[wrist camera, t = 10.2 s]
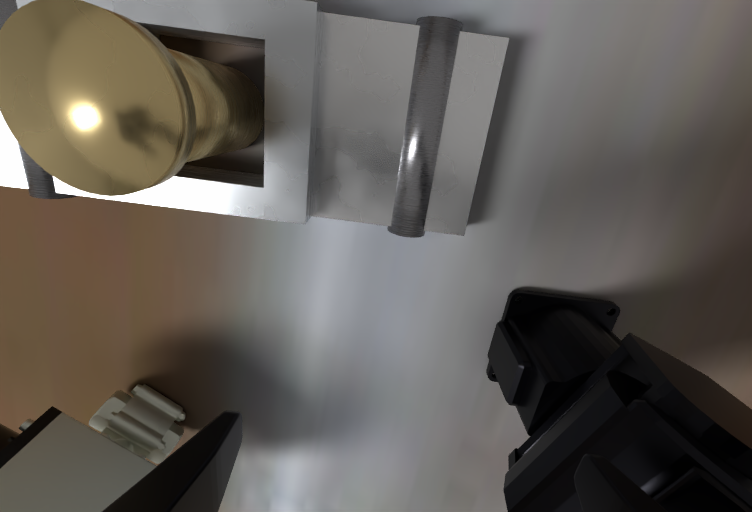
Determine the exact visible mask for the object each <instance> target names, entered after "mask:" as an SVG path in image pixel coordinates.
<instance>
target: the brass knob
mask: <svg viewBox="0 0 752 512" xmlns="http://www.w3.org/2000/svg"><path fill="white" fill-rule="evenodd" d="M0 111H1V113H2V116H3V118H4V120H5V122H6V124H7V126H8V128H9V129H10V131H11V133H12V134H13V136H14V137H15V139H16V140H17V142H18V143H19V144H20V146H21V147H22V148H23V149H24V150H25V152H26V153H27V154H28V155H29V156H30V157H31V158H32V159H33V160H34V161H35V162H36V163H37V164H38V165H39V166H40V167H42V168H43V169H44V170H45V171H46V172H48V173H49V174H51V175H52V176H53V177H55V178H56V179H58V180H60V181H61V182H63V183H65V184H67V185H69V186H71V187H73V188H76V189H78V190H81V191H84V192H87V193H90V194H95V195H101V196H123V195H128V194H133V193H136V192H139V191H142V190H145V189H149V188H152V187H155V186H157V185H160V184H162V183H164V182H166V181H168V180H169V179H171V178H172V177H173V176H174V175H176V174H177V173H178V172H179V170H180V169H181V168H182V167H183V166H184V164H185V162H190V161H194V160H198V159H202V158H206V157H211V156H215V155H219V154H223V153H227V152H231V151H236V150H240V149H243V148H246V147H247V146H249V145H250V144H252V143H253V142H254V141H255V140H256V139H257V138H258V136H259V135H260V133H261V131H262V128H263V124H264V104H263V101H262V98H261V95H260V93H259V91H258V89H257V88H256V86H255V85H254V83H253V82H252V81H251V80H250V79H249V78H248V77H247V76H246V75H245V74H243V73H242V72H240V71H238V70H236V69H234V68H231V67H228V66H225V65H222V64H218V63H215V62H212V61H208V60H205V59H202V58H198V57H195V56H191V55H188V54H185V53H181V52H178V51H175V50H171V49H168V48H166V47H165V46H164V45H163V44H162V43H161V42H160V41H159V40H158V39H157V38H156V37H155V36H154V35H153V34H152V33H150V32H149V31H148V30H147V29H145V28H144V27H143V26H141V25H140V24H138V23H137V22H135V21H133V20H131V19H129V18H127V17H125V16H123V15H120V14H118V13H115V12H112V11H110V10H107V9H104V8H102V7H99V6H96V5H93V4H91V3H88V2H85V1H82V0H35V1H32V2H30V3H28V4H26V5H24V6H22V7H21V8H19V9H18V10H17V11H15V12H14V13H13V14H12V15H11V16H10V17H9V18H8V19H7V20H6V22H5V23H4V25H3V26H2V28H1V30H0Z"/></svg>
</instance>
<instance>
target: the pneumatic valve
mask: <svg viewBox="0 0 752 512" xmlns="http://www.w3.org/2000/svg"><path fill="white" fill-rule="evenodd" d="M131 393H133V395H134V396H133V397H131V396H130V395H128V394H126V393H125V392H123V391H121V390H120V391H116V392H115V393H114V394H113V395H112V396H111V397H110V398H109V399H108V400H107V401H106V402H105V403H104V404H103V405H102V406H101V408H100V409H99V410H98V411H97V412H96V413H95V414H94V416H93V417H92V418H91V419H90V420H89V425H90V426H92V427H93V428H95V429H97V430H99V431H100V432H102V433H101V434H100V433H98V432H97V431H95V430H93V429H91V428H90V427H88V426H86V425H84V424H83V423H81V422H79V421H77V420H75V419H74V418H72V417H70V416H68V415H67V414H65V413H63V412H61V411H60V410H58V409H56V408H54V407H53V406H52V407H51V408H50V409H48V410H47V411H46V412H45V413H44V414H43V415H42V416H40V417H39V418H38V419H37V420H36V421H33V420H31V419H28V420H26V421H25V422H24V423H23V424H22V425H21V426H20V427H19V429H20V430H22V431H23V432H22V433H21V434H19V433H17V432H15V431H13V430H11V429H9V428H7V427H6V426H4V425H2V424H0V512H102V511H103V510H104V509H105V508H107V507H108V506H109V505H110V504H112V503H113V502H114V501H115V500H116V499H118V498H119V497H120V496H121V495H122V494H124V493H125V492H126V491H127V490H129V489H130V488H131V487H132V486H133V485H135V484H136V483H137V482H138V481H140V480H141V479H142V478H143V477H144V476H146V475H147V474H148V473H149V472H151V471H152V470H153V469H154V468H155V467H157V466H156V465H154V464H153V463H151V462H149V461H147V460H146V459H145V458H148V459H149V460H151V461H153V462H155V463H156V464H158V463H161V462H162V461H164V459H165V458H166V457H167V456H168V455H169V454H170V452H171V451H172V450H173V448H174V447H175V446H176V444H177V443H178V441H179V440H180V438H181V437H182V435H183V433H184V429H183V428H182V427H181V426H179V425H177V424H176V423H174V421H175V420H177V421H178V422H180V421H181V420H182V421H183V420H184V419H185V417H186V416H185V414H186V413H184V412H183V411H182V410H183V408H182V407H181V406H179V405H177V404H176V403H174V402H173V401H171V400H169V399H168V398H166V397H165V396H163V395H161V394H160V393H158V392H157V391H155V390H153V389H152V388H150V387H149V386H147V385H145V384H144V385H143V386H142V385H139V384H138V385H137V386H136V387H135V388H134V389H133V390H132V391H131ZM110 437H111V438H110Z"/></svg>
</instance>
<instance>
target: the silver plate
mask: <svg viewBox="0 0 752 512" xmlns="http://www.w3.org/2000/svg"><path fill="white" fill-rule="evenodd" d="M32 1H35V0H0V30H1V28H2V26H3V25H4V23H5V22H6V20H7V19H8V18H9V17H10V16H11V15H12V14H13V13H14V12H15V11H17V10H18V9H19V8H21V7H22V6H24V5H26V4H28V3H30V2H32ZM82 1H85V2H88V3H91V4H93V5H96V6H99V7H102V8H104V9H107V10H110V11H112V12H115V13H118V14H120V15H123V16H125V17H127V18H129V19H131V20H133V21H135V22H137V23H138V24H140V25H141V26H143V27H144V28H145V29H147V30H148V31H149V32H150V33H152V34H153V35H154V36H155V37H156V38H157V39H158V40H159V41H160V36H159V34H160V35H167V36H174V37H182V38H189V39H196V40H204V41H211V42H218V43H226V44H233V45H240V46H248V47H255V48H262V49H265V111H264V175H260V174H252V173H245V172H237V171H229V170H222V169H214V168H206V167H199V166H191V165H184V166H183V167H182V168H181V169H180V170H179V172H178V173H177V174H176V175H174V176H173V177H172V178H171V179H169V180H168V181H166V182H164V183H162V184H160V185H157V186H155V187H152V188H149V189H145V190H142V191H139V192H136V193H133V194H128V195H123V196H101V195H95V194H90V193H87V192H84V191H81V190H78V189H76V188H73V187H71V186H69V185H67V184H65V183H63V182H61V181H60V180H58V179H56V178H55V177H53V176H52V175H51V174H49V173H48V172H46V171H45V170H44V169H43V168H42V167H40V166H39V165H38V164H37V163H36V162H35V161H34V160H33V159H32V158H31V157H30V156H29V155H28V154H27V153H26V152H25V150H24V149H23V148H22V147H21V146H20V144H19V143H18V142H17V140H16V139H15V137H14V136H13V134H12V133H11V131H10V129H9V128H8V126H7V124H6V122H5V120H4V118H3V116H2V113H1V111H0V185H2V186H10V187H17V188H25V189H28V190H29V194H30V196H32V197H35V198H43V199H62V198H71V197H77V196H87V197H95V198H103V199H111V200H119V201H126V202H134V203H142V204H150V205H157V206H165V207H173V208H181V209H189V210H196V211H204V212H212V213H220V214H228V215H235V216H243V217H251V218H259V219H266V220H274V221H282V222H290V223H298V224H306V223H307V222H308V220H309V219H310V218H311V216H314V217H322V218H330V219H337V220H345V221H353V222H361V223H368V224H376V225H384V226H388V228H387V229H388V231H389V232H391V233H393V234H396V235H399V236H404V237H422V236H424V233H425V231H431V232H438V233H446V234H454V235H462V236H464V234H465V230H466V226H467V221H468V217H469V212H470V208H471V204H472V199H473V195H474V190H475V186H476V182H477V177H478V173H479V169H480V164H481V160H482V155H483V151H484V147H485V142H486V138H487V133H488V129H489V125H490V120H491V116H492V112H493V107H494V103H495V98H496V94H497V90H498V85H499V81H500V77H501V72H502V68H503V63H504V59H505V55H506V50H507V46H508V41H509V38H506V37H498V36H491V35H484V34H477V33H469V32H462V27H463V24H462V23H461V22H459V21H457V20H454V19H450V18H444V17H434V16H428V17H421V18H418V19H417V24H416V25H412V24H404V23H397V22H390V21H383V20H376V19H368V18H361V17H354V16H347V15H340V14H332V13H325V12H323V11H322V9H321V7H320V6H319V4H318V3H317V2H313V1H306V0H82Z"/></svg>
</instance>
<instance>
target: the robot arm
mask: <svg viewBox="0 0 752 512" xmlns="http://www.w3.org/2000/svg"><path fill="white" fill-rule="evenodd" d="M517 297H521V299H520V300H518V301H515V299H516V298H517ZM610 308H612V309H611V311H609V312H607V311H608V310H609V309H610ZM619 313H620V308H619V307H618V306H617V305H616V304H615V303H613V302H611V301H604V300H596V299H588V298H580V297H572V296H564V295H556V294H548V293H540V292H533V291H525V290H514V291H512V292H511V293H510V294H509V296H508V299H507V303H506V306H505V310H504V313H503V316H502V320H501V321H499V322H498V323H497V325H496V328H495V331H494V335H493V338H492V342H491V345H490V349H489V352H488V358H489V363H488V367H487V370H486V373H487V376H488V378H489V379H490V380H491V381H494V382H498V383H499V385H500V388H501V390H502V392H503V395H504V397H505V400H506V401H507V403H508V404H509V405H513V406H516V408H517V410H518V413H519V415H520V417H521V420H522V422H523V424H524V426H525V429H526V431H527V433H528V435H529V436H531V437H530V438H529V439H528V440H527V441H526V442H525V443H524V444H523V445H522V446H521V447H520V448H519V449H517V448H516V449H514V450H513V451H512V452H511V453H510V454H509V456H508V457H509V471H508V472H507V473H506V476H505V483H504V495H505V500H506V505H507V510H508V512H752V409H750V408H749V407H748V406H746V405H745V404H744V403H742V402H741V401H740V400H738V399H737V398H736V397H734V396H733V395H732V394H731V393H729V392H728V391H727V390H725V389H724V388H723V387H721V386H720V385H719V384H717V383H716V382H715V381H713V380H712V379H711V378H709V377H708V376H706V375H705V374H703V373H701V372H699V371H698V370H696V369H694V368H692V367H691V366H689V365H687V364H685V363H683V362H682V361H680V360H678V359H676V358H674V357H673V356H671V355H669V354H667V353H665V352H664V351H662V350H660V349H658V348H656V347H655V346H653V345H651V344H649V343H648V342H646V341H644V340H642V339H640V338H639V337H637V336H635V335H633V334H631V333H629V334H628V335H627V336H626V337H625V338H624V339H623V340H622V341H621V340H620V339H619V338H618V337H617V336H616V335H615V334H613V333H612V332H611V331H612V329H613V327H614V324H615V322H616V320H617V318H618V315H619ZM493 373H495V374H493ZM241 442H242V414H241V413H240V412H236V411H224V412H223V413H221V414H220V415H219V416H218V417H216V418H215V419H214V420H213V421H212V422H210V423H209V424H208V425H207V426H205V427H204V428H203V429H202V430H201V431H199V432H198V433H197V434H196V435H195V436H193V437H192V438H191V439H190V440H188V441H187V442H186V443H185V444H184V445H182V446H181V447H180V448H179V449H177V450H176V451H175V452H174V453H173V454H171V455H170V456H169V457H168V458H166V459H165V460H164V461H163V462H162V463H160V464H159V465H158V466H157V467H155V468H154V469H153V470H152V471H151V472H149V473H148V474H147V475H146V476H144V477H143V478H142V479H141V480H140V481H138V482H137V483H136V484H135V485H133V486H132V487H131V488H130V489H129V490H127V491H126V492H125V493H124V494H122V495H121V496H120V497H119V498H118V499H116V500H115V501H114V502H113V503H112V504H110V505H109V506H108V507H107V508H105V509H104V510H103V511H102V512H218V510H219V507H220V504H221V501H222V499H223V496H224V493H225V490H226V487H227V484H228V481H229V478H230V475H231V472H232V469H233V466H234V463H235V460H236V457H237V454H238V451H239V448H240V445H241Z"/></svg>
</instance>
